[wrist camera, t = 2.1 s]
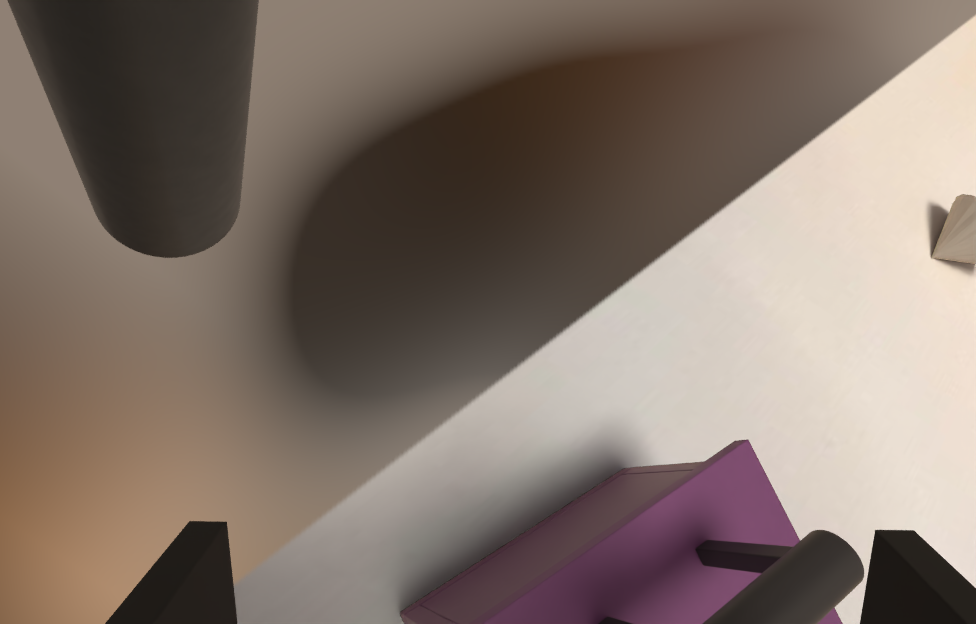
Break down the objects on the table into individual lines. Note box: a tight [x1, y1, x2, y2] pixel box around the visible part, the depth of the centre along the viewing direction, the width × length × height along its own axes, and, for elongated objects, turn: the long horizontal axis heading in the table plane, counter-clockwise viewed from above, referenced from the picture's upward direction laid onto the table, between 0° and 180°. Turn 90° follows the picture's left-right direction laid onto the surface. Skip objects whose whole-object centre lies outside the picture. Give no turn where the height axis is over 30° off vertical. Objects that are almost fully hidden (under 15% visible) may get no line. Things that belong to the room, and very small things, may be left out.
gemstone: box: [931, 194, 976, 264], centre depth 49 cm, size 6×6×5 cm
